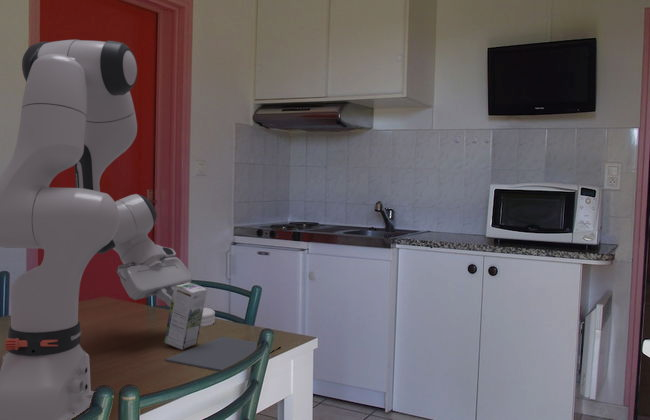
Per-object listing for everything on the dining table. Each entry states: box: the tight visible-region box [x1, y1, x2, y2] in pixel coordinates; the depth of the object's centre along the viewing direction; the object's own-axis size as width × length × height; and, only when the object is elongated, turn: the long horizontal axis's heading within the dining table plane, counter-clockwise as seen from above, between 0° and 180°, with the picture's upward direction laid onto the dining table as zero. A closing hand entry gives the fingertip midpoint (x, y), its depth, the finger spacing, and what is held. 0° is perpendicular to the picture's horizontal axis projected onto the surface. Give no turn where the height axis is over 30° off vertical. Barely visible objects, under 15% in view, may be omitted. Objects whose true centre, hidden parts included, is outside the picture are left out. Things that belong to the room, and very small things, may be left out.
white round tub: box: [200, 307, 216, 328], centre depth 177 cm, size 10×10×4 cm
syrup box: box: [164, 282, 208, 351], centre depth 153 cm, size 6×6×14 cm
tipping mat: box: [164, 336, 258, 372], centre depth 149 cm, size 17×22×1 cm
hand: (175, 304), depth 154 cm, fingers closed, pressing on syrup box
